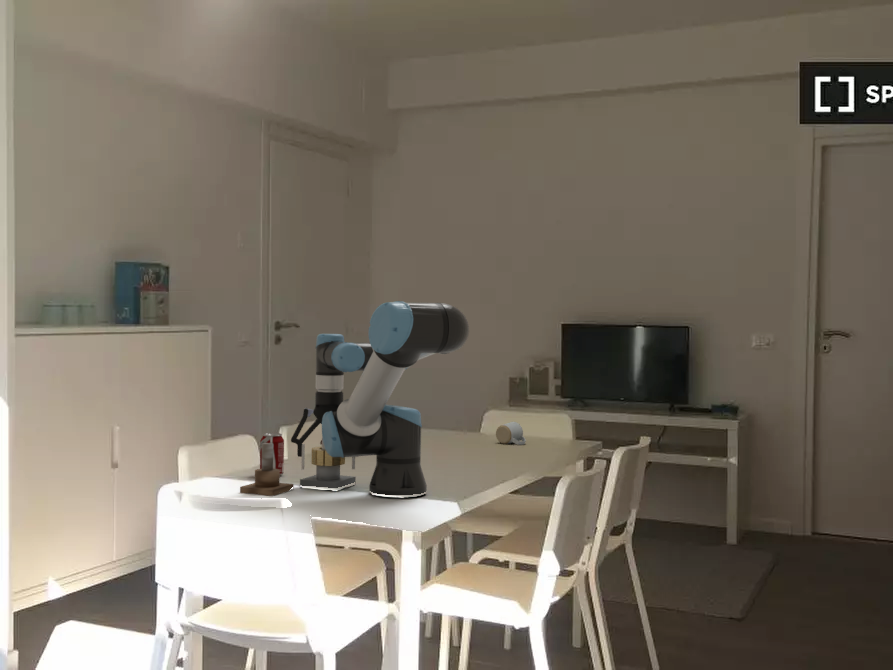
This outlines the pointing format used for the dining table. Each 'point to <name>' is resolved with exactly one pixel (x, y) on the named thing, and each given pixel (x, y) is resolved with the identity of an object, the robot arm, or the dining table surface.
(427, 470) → the dining table surface
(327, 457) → the collar
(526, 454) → the dining table surface
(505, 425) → the ceramic mug
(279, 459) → the soda can
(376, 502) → the dining table surface
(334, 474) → the hub
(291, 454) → the dining table surface
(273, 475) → the stand
